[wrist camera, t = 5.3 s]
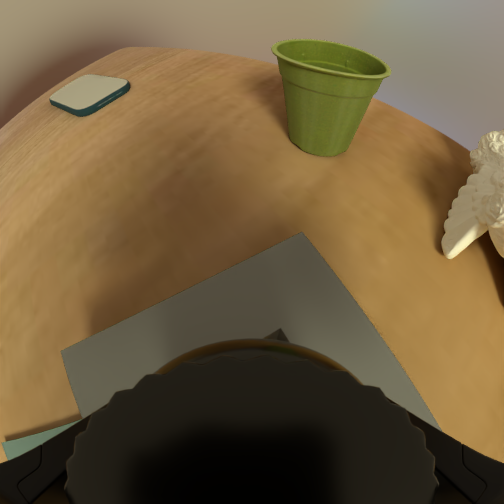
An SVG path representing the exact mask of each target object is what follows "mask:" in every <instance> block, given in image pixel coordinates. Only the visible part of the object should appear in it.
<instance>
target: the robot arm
mask: <svg viewBox="0 0 504 504" xmlns="http://www.w3.org/2000/svg"><path fill="white" fill-rule="evenodd" d="M387 399H388V400H389V402H390V403H393V404H396V405H399V404H397V403H395V402H394V401H392V400H391V399H389V398H388V397H387ZM107 404H108V403H107ZM107 404H106V405H104V406H102V407H101V408H99V409H103V408H105V407H106V406H107ZM399 406H400V405H399ZM99 409H98V410H99ZM96 411H97V410H96ZM407 412H408V414H409V417H410V421H411V423H412V424H413V425H414V426H416V427H418V428H420V429H421V430H422V431H424V433H425V438H426V448H427V449H428V450H429V451H430V452H431V453H432V454H433V455H434V456H435V469H434V474H435V476H436V478H437V480H438V482H439V487H438V491H437V493H436V496H435V503H436V504H504V463H502V462H499V461H497V460H494V459H492V458H489V457H487V456H485V455H483V454H481V453H479V452H477V451H475V450H473V449H471V448H469V447H468V446H466V445H464V444H462V443H461V442H459V441H457V440H455V439H454V438H452V437H450V436H449V435H447V434H445V433H444V432H442V431H440V430H439V429H437V428H435V427H434V426H432V425H430V424H429V423H427V422H426V421H424V420H422V419H421V418H419V417H417V416H416V415H414V414H413V413H411V412H410V411H408V410H407ZM91 414H92V413H91ZM91 414H90V415H88V416H87V417H85V418H84V419H82V420H80V421H79V422H77V423H75V424H74V425H72V426H71V427H69V428H67V429H66V430H64V431H62V432H61V433H59V434H57V435H56V436H54V437H52V438H51V439H49V440H47V441H45V442H44V443H42V444H40V445H38V446H37V447H35V448H33V449H31V450H29V451H28V452H26V453H24V454H22V455H20V456H17V457H15V458H13V459H11V460H8V461H6V462H3V463H0V504H69V501H68V498H67V497H66V494H65V491H64V486H65V483H66V481H67V479H68V476H67V470H66V461H67V460H68V458H69V457H70V456H72V454H73V453H74V442H75V437H76V436H77V435H78V434H79V433H81V432H83V431H85V430H86V428H87V425H88V421H89V419H90V416H91Z"/></svg>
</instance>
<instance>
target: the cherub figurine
mask: <svg viewBox="0 0 504 504" xmlns="http://www.w3.org/2000/svg"><path fill="white" fill-rule="evenodd" d="M470 159H471V162H470V165H471V167H472V168H473V172H474V173H473V174H472V175H470V176H469V177H468V179H467V184H466V185H465V186H462V187H461V188H460V189H459V192H458V197H457V198H455V199H454V200H453V202H452V209H450V210H449V211H448V219H447V220H446V221H445V222H444V230H445V232H446V233H445V234H444V236H443V238H442V241H441V244H442V249H443V253H444V255H445V257H446V258H448V259H452V258H454V257H455V256H456V255H458V254H459V253H460V252H461V251H462V250H464V249H465V248H466V247H467V246H468V245H469V244H470V243H472V242H473V241H474V240H475V239H477V238H479V237H480V236H481V235H483V234H484V233H485V232H486V231H487V230H489V234H490V237H491V240H492V242H493V244H494V246H495V248H496V250H497V251H498V253H499V254H500V255H501V256H502V257H503V258H504V130H502V131H500V132H498V131H492V132H490V133H488V134H486V135H484V136H482V137H481V139H480V141H479V144H478V149H475V150H472V151H471V152H470Z"/></svg>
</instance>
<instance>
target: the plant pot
mask: <svg viewBox="0 0 504 504" xmlns="http://www.w3.org/2000/svg"><path fill="white" fill-rule="evenodd" d="M271 50H272V52H273V54H274V55H276V56H277V59H278V65H279V71H280V74H281V75H282V81H283V88H284V95H285V103H286V111H287V120H288V130H289V137H290V140H291V141H292V142H293V143H295V144H296V145H298V146H299V147H300V148H301V149H302V150H303V151H305V152H308V153H311V154H314V155H318V156H336V155H338V154H340V153H341V152H345V151H346V150H347V149H348V147H349V145H350V143H351V141H352V139H353V137H354V135H355V133H356V131H357V128H358V126H359V124H360V122H361V120H362V118H363V116H364V114H365V112H366V110H367V107H368V105H369V103H370V101H371V99H372V97H373V95H374V94H375V93H376V92H377V90H378V88H379V86H380V84H381V82H382V80H383V79H384V78H386V77H388V76H389V75H390V74H391V69H390V68H389V66H388V65H387V64H386V63H385V62H383V61H382V60H381V59H379V58H377V57H376V56H374V55H372V54H370V53H367V52H365V51H362V50H360V49H357V48H354V47H350V46H347V45H343V44H340V43H335V42H330V41H323V40H312V39H292V40H285V41H280V42H278V43H276V44H274V45H273V46H272V48H271Z"/></svg>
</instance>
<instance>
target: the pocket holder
mask: <svg viewBox="0 0 504 504" xmlns="http://www.w3.org/2000/svg"><path fill="white" fill-rule="evenodd" d="M246 338H258V339H272V340H279V341H285V342H290V343H293V344H297V345H301V346H304V347H307V348H309V349H312V350H315V351H317V352H319V353H321V354H323V355H326V356H328V357H329V358H331V359H333V360H334V361H336V362H338V363H339V364H341V365H342V366H343V367H345V368H346V369H348V370H349V371H350V372H351V373H352V374H353V375H355V376H356V377H357V378H358V379H359V380H360V381H361V382H362V383H363V385H370V386H375V387H380V389H381V390H382V391H383V392H384V394H385V395H386V397H388V398H389V399H391V400H392V401H394V402H395V403H397V404H399V405H400V406H402V407H404V408H406V410H408V411H410V412H411V413H413V414H414V415H416V416H417V417H419V418H421V419H422V420H424V421H426V422H427V423H429V424H430V425H432V426H434V427H435V428H437V429H439V430H440V431H442V430H441V428H440V427H439V425H438V423H437V422H436V420H435V418H434V417H433V415H432V413H431V412H430V410H429V408H428V407H427V405H426V404H425V402H424V400H423V399H422V397H421V396H420V394H419V393H418V391H417V389H416V388H415V386H414V385H413V383H412V382H411V380H410V379H409V377H408V376H407V374H406V372H405V371H404V369H403V368H402V366H401V365H400V363H399V362H398V360H397V359H396V358H395V356H394V355H393V353H392V352H391V350H390V349H389V347H388V346H387V344H386V343H385V341H384V340H383V339H382V337H381V336H380V334H379V333H378V331H377V330H376V329H375V327H374V326H373V324H372V323H371V322H370V320H369V319H368V317H367V316H366V315H365V313H364V312H363V310H362V309H361V308H360V306H359V305H358V304H357V302H356V301H355V299H354V298H353V297H352V295H351V294H350V293H349V291H348V290H347V289H346V287H345V286H344V285H343V283H342V282H341V281H340V279H339V278H338V277H337V275H336V274H335V273H334V272H333V270H332V269H331V268H330V266H329V265H328V264H327V262H326V261H325V260H324V259H323V257H322V256H321V255H320V253H319V252H318V251H317V250H316V248H315V247H314V246H313V245H312V243H311V242H310V241H309V240H308V238H307V237H306V236H305V235H304V233H303V232H300V233H298V234H296V235H294V236H292V237H290V238H288V239H286V240H284V241H282V242H280V243H278V244H276V245H274V246H272V247H270V248H268V249H266V250H264V251H262V252H260V253H258V254H256V255H254V256H252V257H250V258H248V259H246V260H244V261H242V262H240V263H238V264H236V265H234V266H232V267H230V268H228V269H226V270H224V271H222V272H220V273H218V274H216V275H214V276H212V277H210V278H208V279H206V280H204V281H202V282H200V283H198V284H196V285H194V286H192V287H190V288H188V289H186V290H184V291H182V292H180V293H178V294H176V295H174V296H172V297H170V298H168V299H166V300H164V301H162V302H160V303H158V304H156V305H154V306H152V307H150V308H148V309H145V310H143V311H141V312H139V313H137V314H135V315H133V316H131V317H129V318H127V319H125V320H123V321H121V322H119V323H117V324H115V325H113V326H111V327H109V328H107V329H105V330H103V331H101V332H99V333H97V334H95V335H93V336H90V337H88V338H86V339H84V340H82V341H80V342H78V343H76V344H74V345H72V346H70V347H68V348H66V349H64V350H62V351H61V354H62V358H63V362H64V365H65V369H66V372H67V376H68V379H69V382H70V385H71V388H72V391H73V394H74V397H75V400H76V403H77V405H78V408H79V411H80V413H81V416H82V418H83V419H84V418H85V417H87V416H88V415H90V414H91V413H93V412H95V411H96V410H98V409H99V408H101V407H102V406H104V405H106V404H107V403H109V401H110V399H111V398H112V396H113V395H114V393H115V392H117V391H121V390H125V389H133V387H134V386H135V385H136V384H137V383H138V382H139V381H140V380H141V379H142V378H143V377H144V376H145V375H146V374H153V373H154V372H155V371H157V370H158V369H159V368H160V367H162V366H163V365H165V364H166V363H168V362H169V361H171V360H172V359H174V358H176V357H178V356H180V355H182V354H184V353H186V352H188V351H191V350H193V349H196V348H199V347H202V346H205V345H208V344H212V343H216V342H220V341H226V340H233V339H246Z"/></svg>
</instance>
